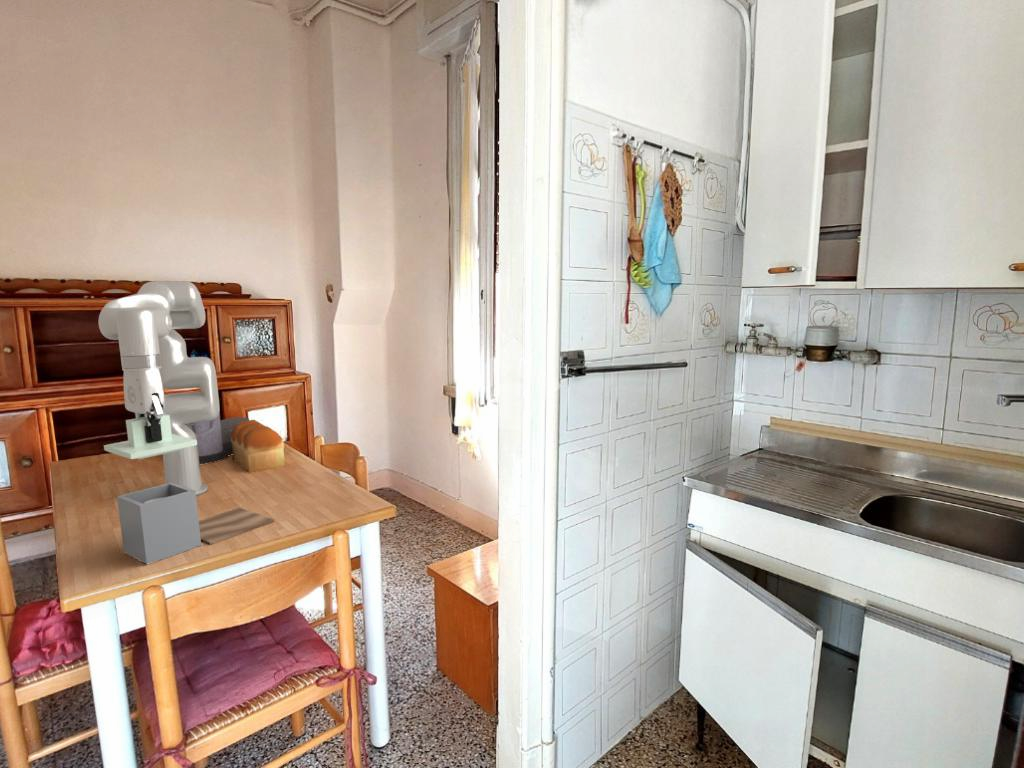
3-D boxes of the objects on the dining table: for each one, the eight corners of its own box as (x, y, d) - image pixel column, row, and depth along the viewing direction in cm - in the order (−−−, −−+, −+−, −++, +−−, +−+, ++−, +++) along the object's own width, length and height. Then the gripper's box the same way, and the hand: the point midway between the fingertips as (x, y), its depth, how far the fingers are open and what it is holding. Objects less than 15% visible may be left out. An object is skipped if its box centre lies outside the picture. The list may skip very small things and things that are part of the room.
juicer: (197, 467, 202) (190, 402, 198) (167, 463, 208) (160, 399, 205) (263, 448, 229) (258, 389, 225) (235, 444, 235) (230, 388, 232)
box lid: (105, 454, 128) (100, 419, 127) (169, 441, 139) (165, 409, 138) (131, 463, 120) (127, 427, 119) (197, 448, 131) (194, 415, 130)
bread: (231, 459, 212) (228, 422, 210) (265, 453, 220) (262, 417, 218) (249, 473, 193) (245, 432, 191) (286, 466, 201) (283, 427, 199)
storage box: (124, 552, 131) (116, 496, 129) (177, 535, 141) (171, 482, 139) (147, 565, 125) (139, 505, 123) (201, 545, 134) (195, 490, 132)
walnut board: (176, 530, 144) (176, 527, 144) (239, 509, 158) (239, 507, 158) (210, 544, 135) (210, 542, 135) (274, 521, 149) (274, 519, 149)
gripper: (107, 362, 128) (117, 439, 131) (139, 366, 119) (149, 449, 122) (143, 359, 134) (152, 433, 137) (176, 363, 125) (184, 441, 128)
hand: (150, 439), depth 129 cm, fingers closed on box lid, 3 cm apart
